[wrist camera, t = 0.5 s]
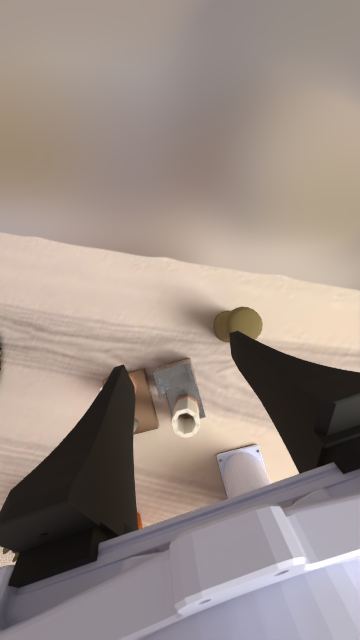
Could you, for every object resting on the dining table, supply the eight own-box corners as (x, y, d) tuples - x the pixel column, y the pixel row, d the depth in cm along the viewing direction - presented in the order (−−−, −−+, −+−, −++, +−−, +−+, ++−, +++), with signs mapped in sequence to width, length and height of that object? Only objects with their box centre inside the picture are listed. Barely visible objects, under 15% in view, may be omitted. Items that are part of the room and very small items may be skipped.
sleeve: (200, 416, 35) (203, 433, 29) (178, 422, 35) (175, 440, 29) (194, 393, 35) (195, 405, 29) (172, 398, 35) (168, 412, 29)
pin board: (158, 425, 36) (154, 437, 31) (118, 435, 36) (109, 449, 32) (144, 368, 36) (138, 373, 32) (105, 378, 37) (94, 385, 33)
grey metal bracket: (205, 415, 35) (209, 433, 29) (174, 424, 36) (171, 442, 30) (189, 357, 36) (189, 363, 30) (159, 366, 36) (153, 373, 30)
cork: (220, 347, 36) (234, 354, 25) (208, 318, 36) (216, 312, 25) (250, 335, 36) (276, 337, 25) (237, 306, 36) (258, 295, 25)
